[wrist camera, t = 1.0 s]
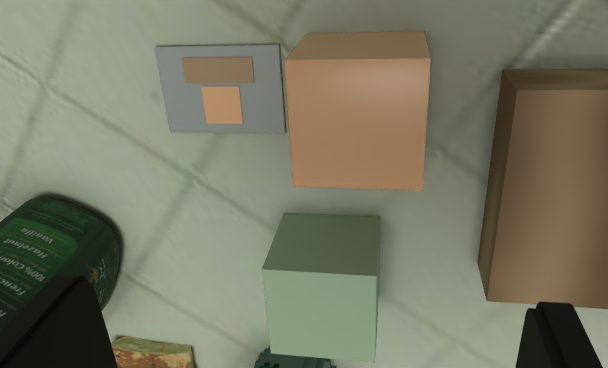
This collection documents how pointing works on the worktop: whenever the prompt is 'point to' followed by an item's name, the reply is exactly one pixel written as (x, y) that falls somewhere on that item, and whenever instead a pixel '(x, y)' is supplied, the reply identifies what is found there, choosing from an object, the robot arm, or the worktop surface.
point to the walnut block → (548, 190)
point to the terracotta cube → (358, 109)
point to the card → (223, 88)
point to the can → (290, 361)
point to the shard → (151, 354)
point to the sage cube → (323, 286)
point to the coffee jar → (53, 252)
